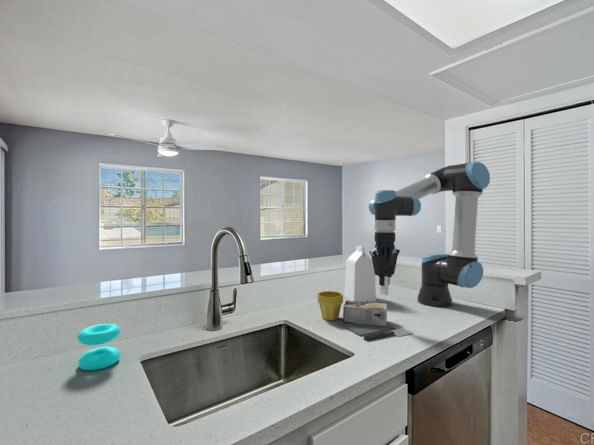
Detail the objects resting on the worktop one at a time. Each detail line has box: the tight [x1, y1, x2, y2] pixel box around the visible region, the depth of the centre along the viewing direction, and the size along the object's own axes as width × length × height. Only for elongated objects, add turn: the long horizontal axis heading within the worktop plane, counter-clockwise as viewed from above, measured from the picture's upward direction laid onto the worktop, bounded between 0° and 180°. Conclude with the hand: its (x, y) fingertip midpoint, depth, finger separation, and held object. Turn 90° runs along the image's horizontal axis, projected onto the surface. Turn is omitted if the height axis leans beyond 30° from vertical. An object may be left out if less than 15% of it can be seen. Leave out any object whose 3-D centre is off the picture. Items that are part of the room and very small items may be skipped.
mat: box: [336, 320, 396, 337], centre depth 118 cm, size 16×14×1 cm
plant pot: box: [316, 290, 344, 321], centre depth 128 cm, size 10×10×10 cm
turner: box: [363, 327, 414, 342], centre depth 109 cm, size 19×5×1 cm, turn 116°
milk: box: [343, 245, 377, 302], centre depth 157 cm, size 12×12×26 cm
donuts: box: [77, 323, 121, 371], centre depth 88 cm, size 10×10×10 cm
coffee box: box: [342, 300, 388, 326], centre depth 123 cm, size 9×6×16 cm
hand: (384, 293), depth 119 cm, fingers closed
